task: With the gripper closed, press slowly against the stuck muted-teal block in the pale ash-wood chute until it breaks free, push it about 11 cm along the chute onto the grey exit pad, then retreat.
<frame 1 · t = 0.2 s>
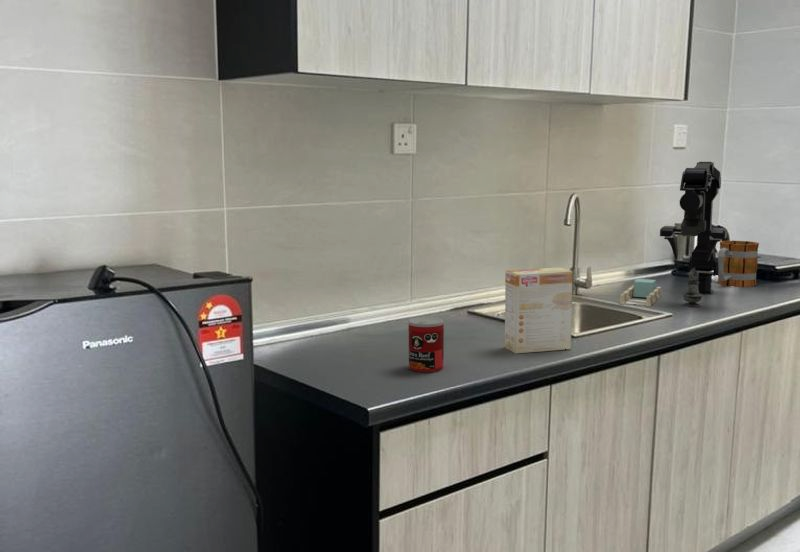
hand: (691, 260, 241), 14 cm above the worktop, fingers open, 9 cm apart
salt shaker: (692, 306, 245), on the worktop
coffeecake box: (537, 349, 193), on the worktop
jammed block: (644, 288, 259), point 3 cm above the worktop, slide at 0.0 cm
mug: (732, 285, 281), on the worktop
canned food: (426, 369, 176), on the worktop
chute: (640, 300, 254), on the worktop
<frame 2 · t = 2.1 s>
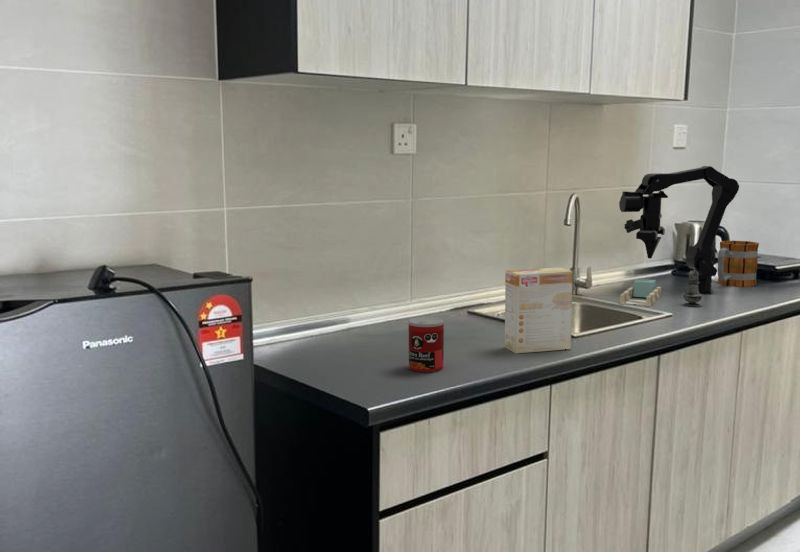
hand: (649, 258, 264), 12 cm above the worktop, fingers closed
nothing on the worktop moved.
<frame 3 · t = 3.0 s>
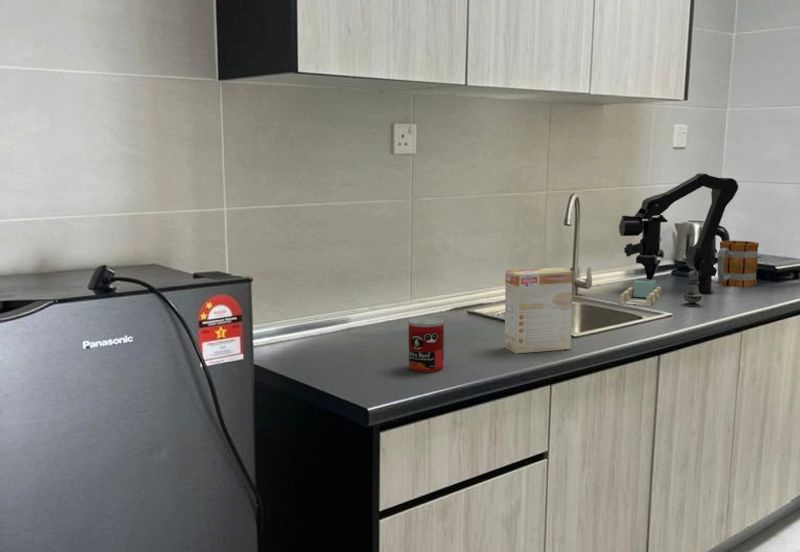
hand: (649, 281, 266), 4 cm above the worktop, fingers closed
nothing on the worktop moved.
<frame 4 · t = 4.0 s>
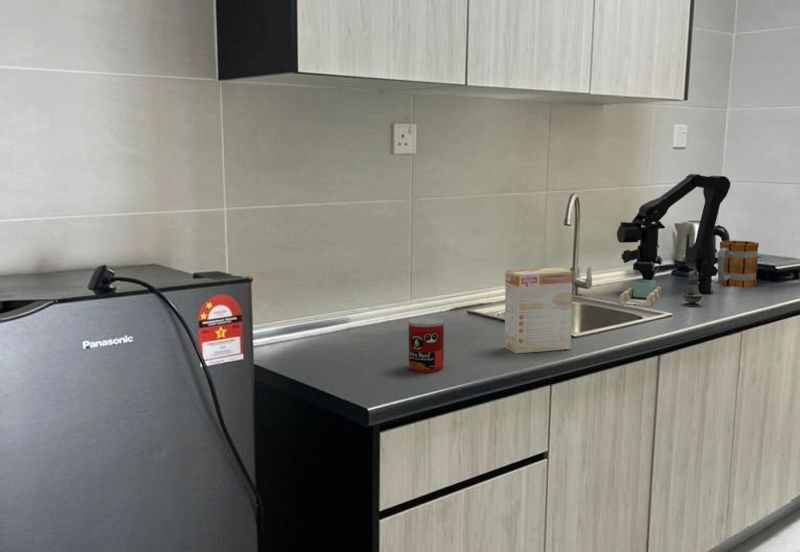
hand: (646, 288, 263), 2 cm above the worktop, fingers closed
jammed block: (644, 288, 259), point 3 cm above the worktop, slide at 0.4 cm, touching gripper
everything else where it was.
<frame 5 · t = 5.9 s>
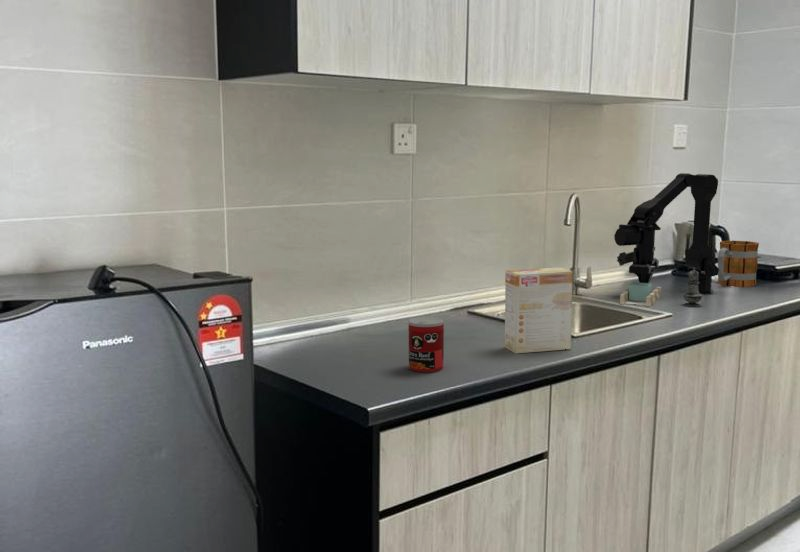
hand: (643, 291, 257), 2 cm above the worktop, fingers closed
jammed block: (640, 291, 253), point 3 cm above the worktop, slide at 7.1 cm, touching gripper
everything else where it was.
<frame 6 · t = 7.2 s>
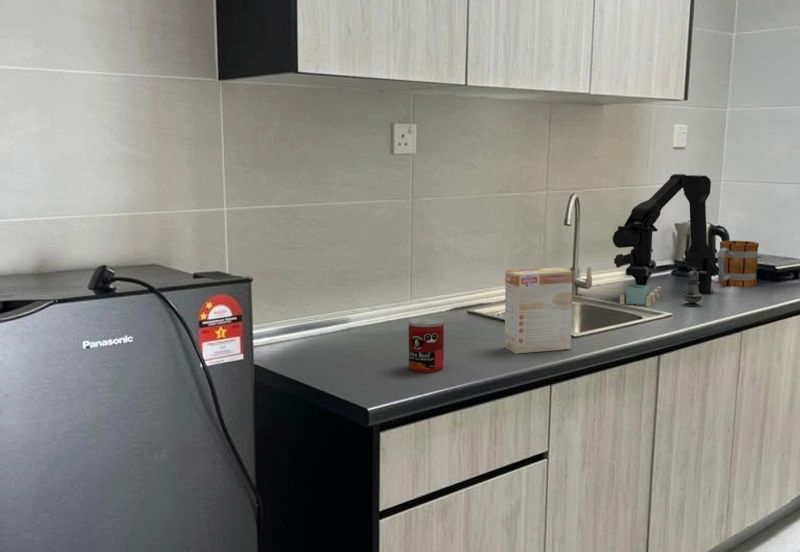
hand: (640, 294, 253), 2 cm above the worktop, fingers closed
jammed block: (637, 294, 248), point 3 cm above the worktop, slide at 11.9 cm, touching gripper
everything else where it was.
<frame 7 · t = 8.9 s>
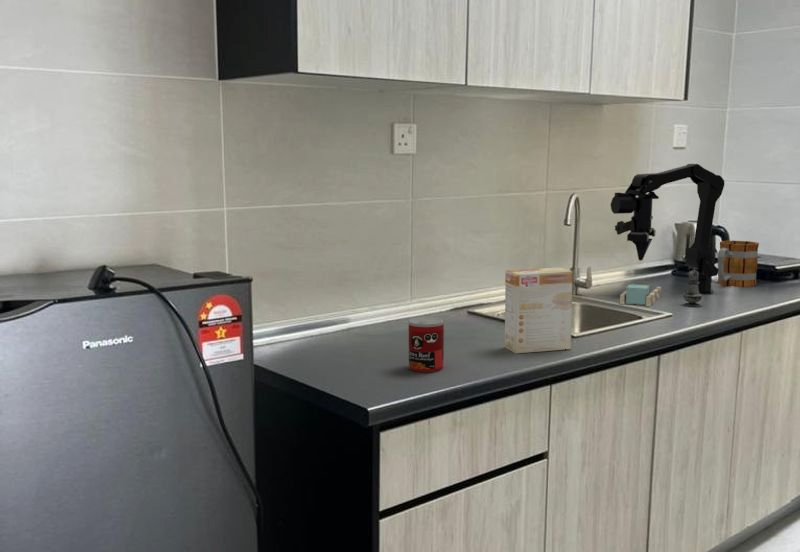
hand: (640, 260, 259), 12 cm above the worktop, fingers closed
jammed block: (637, 294, 248), point 3 cm above the worktop, slide at 11.9 cm
everything else where it was.
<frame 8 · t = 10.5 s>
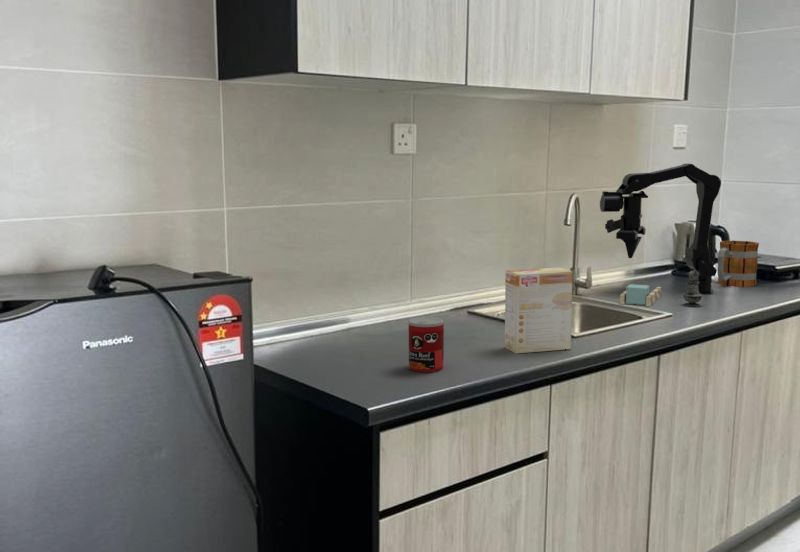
hand: (630, 258, 265), 12 cm above the worktop, fingers closed
nothing on the worktop moved.
at the end: jammed block slide at 11.9 cm; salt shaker moved 0.2 cm from its start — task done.
